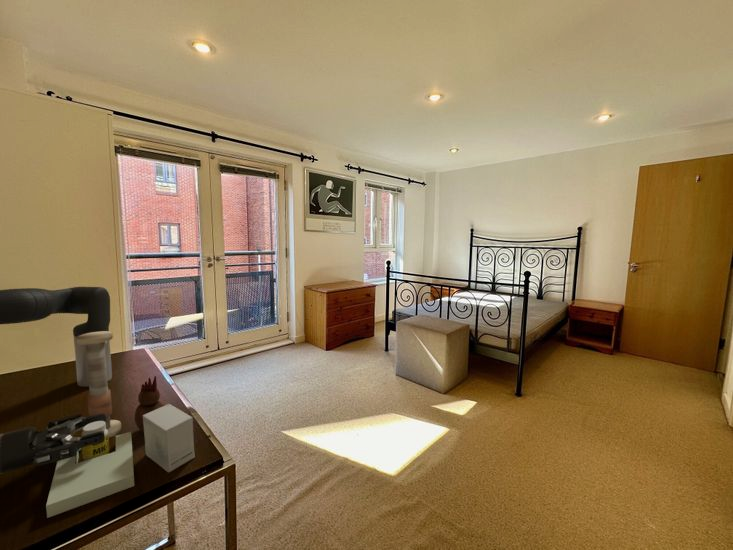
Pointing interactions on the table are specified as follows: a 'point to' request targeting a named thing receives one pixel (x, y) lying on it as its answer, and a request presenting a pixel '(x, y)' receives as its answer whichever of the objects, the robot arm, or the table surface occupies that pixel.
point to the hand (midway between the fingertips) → (105, 426)
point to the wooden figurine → (147, 402)
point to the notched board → (91, 477)
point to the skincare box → (169, 437)
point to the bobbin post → (98, 378)
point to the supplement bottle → (97, 448)
